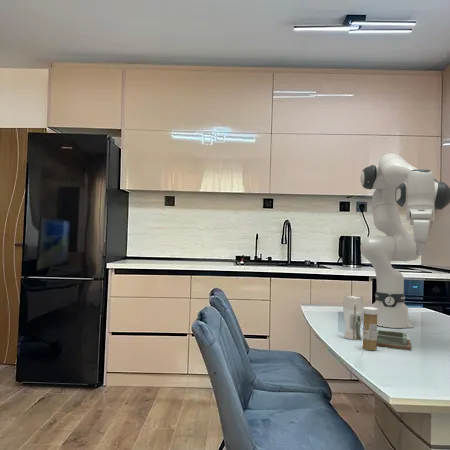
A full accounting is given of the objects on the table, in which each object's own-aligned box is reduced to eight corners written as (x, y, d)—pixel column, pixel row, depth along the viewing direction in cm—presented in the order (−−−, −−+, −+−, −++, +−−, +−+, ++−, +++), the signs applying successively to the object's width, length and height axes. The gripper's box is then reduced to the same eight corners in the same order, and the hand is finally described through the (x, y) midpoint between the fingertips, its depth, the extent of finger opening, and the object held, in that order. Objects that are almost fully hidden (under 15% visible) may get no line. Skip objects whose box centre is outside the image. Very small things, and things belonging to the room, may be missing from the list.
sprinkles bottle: (360, 347, 140) (360, 306, 140) (373, 347, 140) (374, 306, 141) (366, 350, 135) (366, 308, 136) (379, 351, 135) (380, 308, 136)
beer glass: (338, 336, 156) (339, 295, 157) (354, 335, 158) (355, 295, 159) (350, 340, 149) (351, 298, 150) (366, 340, 152) (367, 298, 152)
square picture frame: (371, 338, 155) (371, 328, 155) (410, 342, 150) (410, 332, 150) (369, 345, 143) (369, 335, 143) (411, 350, 138) (411, 339, 138)
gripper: (409, 217, 156) (409, 254, 155) (411, 212, 137) (410, 255, 136) (428, 217, 153) (428, 255, 153) (432, 212, 135) (432, 256, 134)
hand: (419, 255), depth 144 cm, fingers open, 8 cm apart
